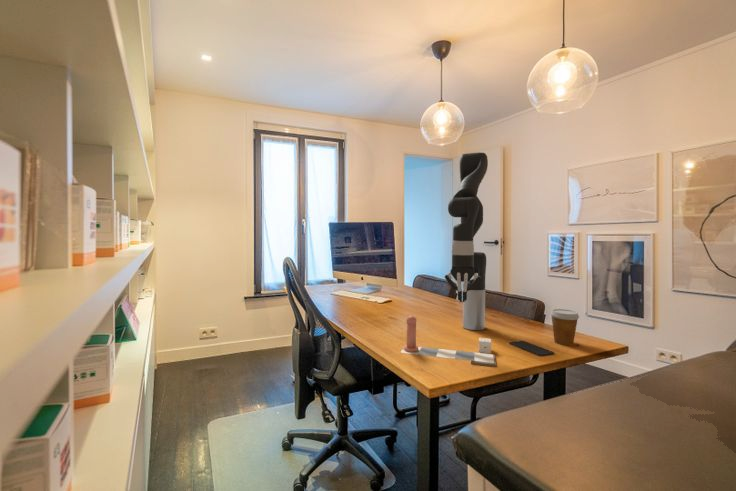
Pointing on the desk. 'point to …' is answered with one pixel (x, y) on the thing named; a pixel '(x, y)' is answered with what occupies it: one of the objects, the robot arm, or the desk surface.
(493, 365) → the board
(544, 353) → the phone
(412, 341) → the pawn
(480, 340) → the die
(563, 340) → the disposable coffee cup
